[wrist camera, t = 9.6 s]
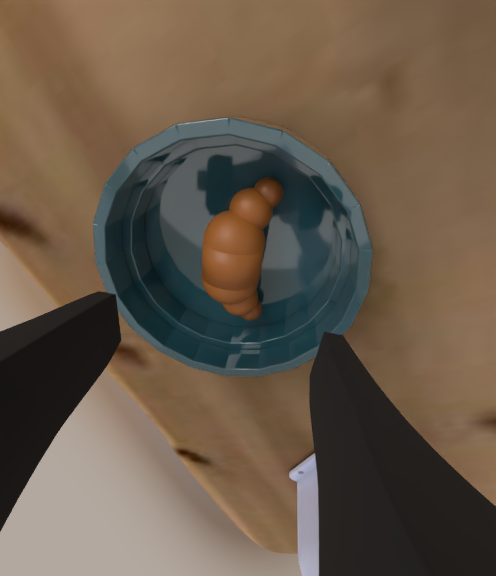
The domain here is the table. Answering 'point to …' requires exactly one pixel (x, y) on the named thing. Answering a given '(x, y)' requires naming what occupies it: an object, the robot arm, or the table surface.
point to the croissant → (239, 248)
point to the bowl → (189, 245)
